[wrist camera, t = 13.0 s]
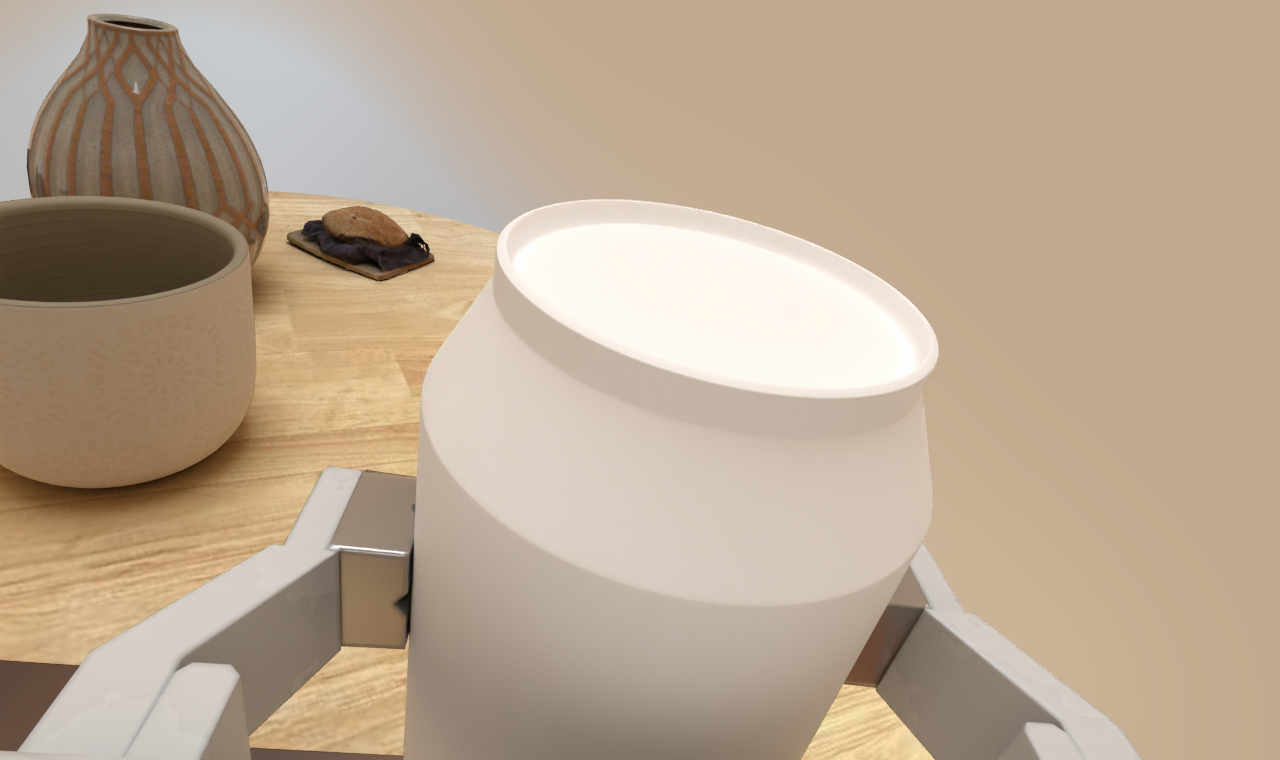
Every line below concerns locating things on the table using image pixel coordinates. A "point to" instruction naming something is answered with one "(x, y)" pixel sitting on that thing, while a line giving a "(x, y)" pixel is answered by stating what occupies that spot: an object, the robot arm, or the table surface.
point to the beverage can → (660, 490)
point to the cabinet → (27, 697)
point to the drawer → (314, 755)
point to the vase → (146, 130)
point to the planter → (120, 338)
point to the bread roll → (363, 242)
